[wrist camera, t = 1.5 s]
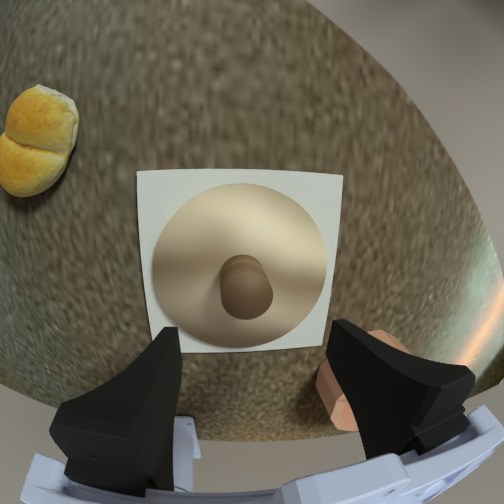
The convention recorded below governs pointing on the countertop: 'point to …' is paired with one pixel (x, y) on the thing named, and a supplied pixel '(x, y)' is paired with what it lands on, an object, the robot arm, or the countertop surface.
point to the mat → (200, 180)
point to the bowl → (335, 396)
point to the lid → (239, 265)
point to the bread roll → (37, 141)
